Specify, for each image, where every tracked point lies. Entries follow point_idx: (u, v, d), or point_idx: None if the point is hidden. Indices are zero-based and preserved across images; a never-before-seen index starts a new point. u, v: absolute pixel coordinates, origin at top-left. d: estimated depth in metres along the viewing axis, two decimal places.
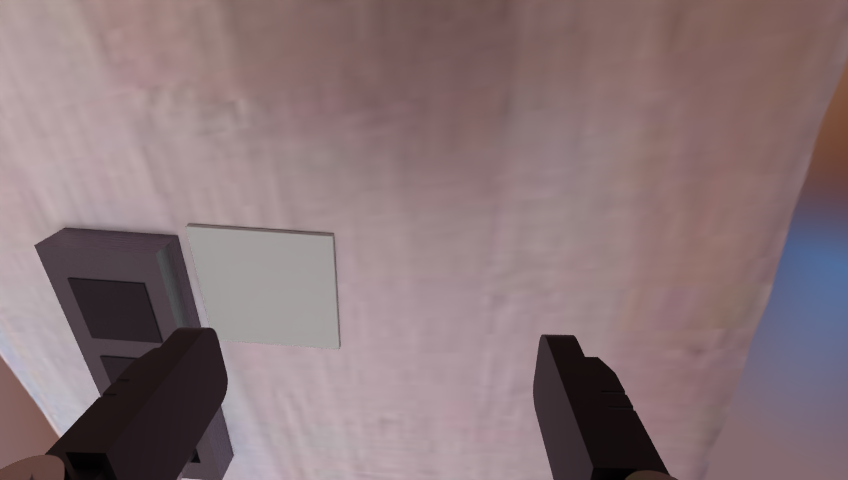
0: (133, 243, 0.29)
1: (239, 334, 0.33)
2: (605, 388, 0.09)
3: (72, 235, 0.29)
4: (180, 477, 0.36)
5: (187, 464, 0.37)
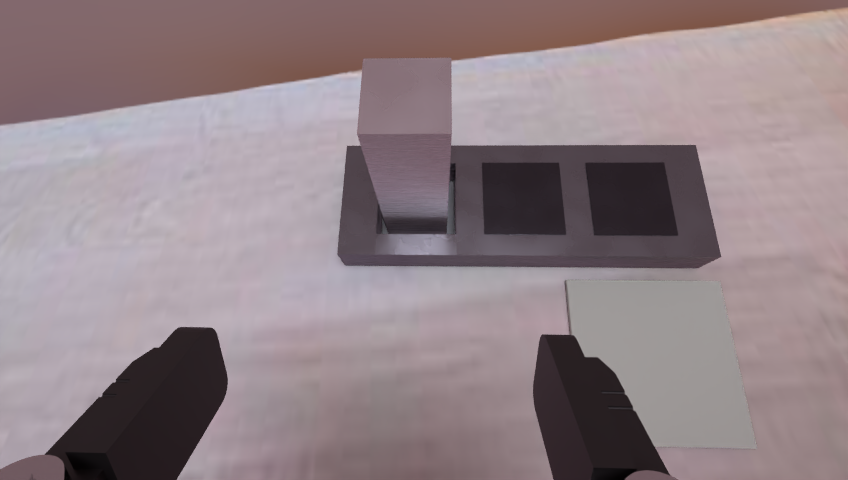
0: None
1: (582, 313, 0.28)
2: (605, 388, 0.09)
3: None
4: (386, 214, 0.26)
5: (389, 221, 0.27)
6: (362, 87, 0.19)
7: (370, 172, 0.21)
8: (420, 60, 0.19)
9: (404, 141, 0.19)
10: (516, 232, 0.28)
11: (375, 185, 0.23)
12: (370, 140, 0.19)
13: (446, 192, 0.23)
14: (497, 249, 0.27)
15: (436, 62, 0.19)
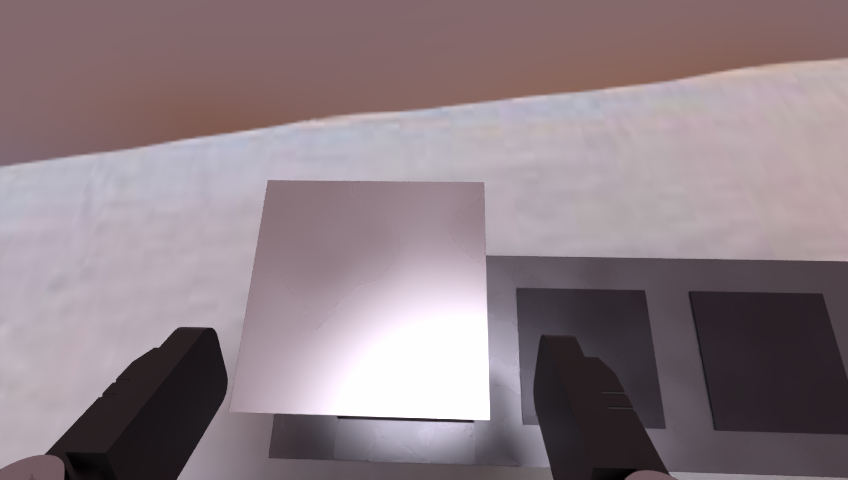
0: None
1: None
2: (605, 388, 0.09)
3: None
4: None
5: None
6: (257, 261, 0.07)
7: None
8: (408, 188, 0.08)
9: None
10: None
11: None
12: None
13: None
14: (546, 455, 0.16)
15: (447, 195, 0.08)
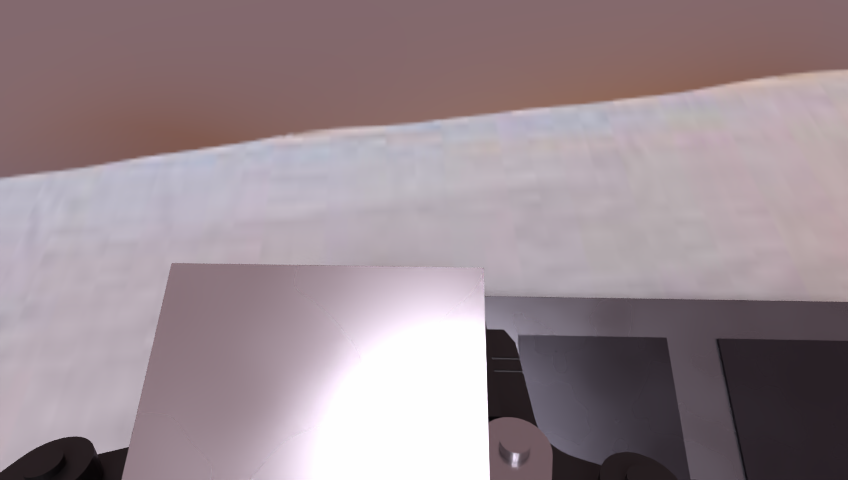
0: None
1: None
2: (502, 355, 0.10)
3: None
4: None
5: None
6: (146, 392, 0.05)
7: None
8: (373, 277, 0.05)
9: None
10: None
11: None
12: None
13: None
14: None
15: (429, 288, 0.05)
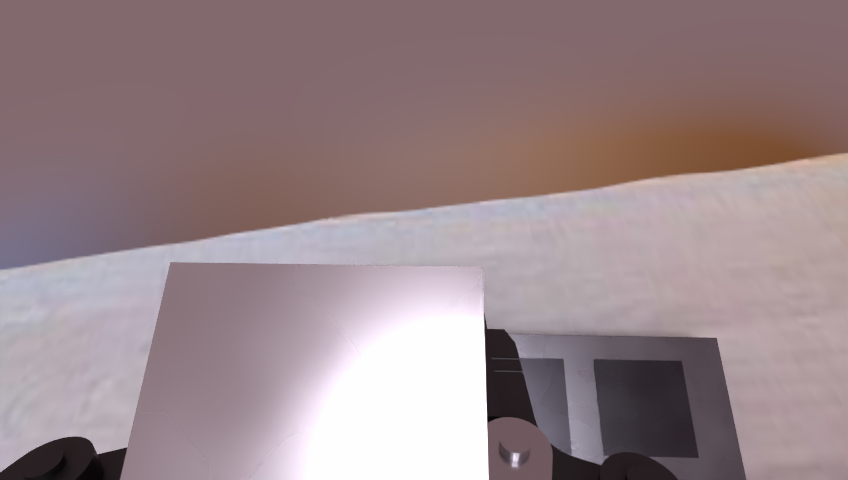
0: None
1: None
2: (502, 355, 0.10)
3: None
4: None
5: None
6: (144, 391, 0.05)
7: None
8: (373, 276, 0.05)
9: None
10: None
11: None
12: None
13: None
14: None
15: (428, 286, 0.05)
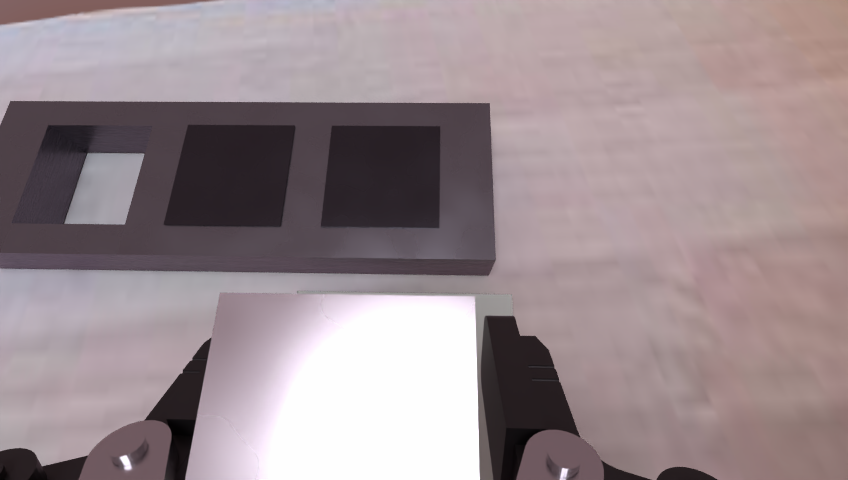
0: None
1: None
2: (536, 363, 0.10)
3: None
4: None
5: None
6: (203, 400, 0.06)
7: None
8: (386, 304, 0.07)
9: None
10: (211, 222, 0.19)
11: None
12: None
13: None
14: (177, 246, 0.19)
15: (431, 312, 0.07)
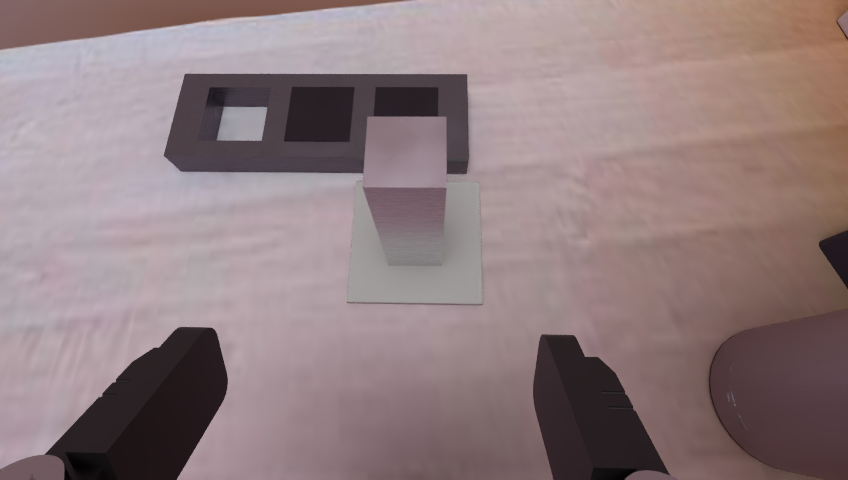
0: None
1: (364, 206, 0.34)
2: (605, 388, 0.09)
3: None
4: (385, 246, 0.28)
5: (388, 252, 0.30)
6: (366, 143, 0.21)
7: (373, 215, 0.24)
8: (419, 119, 0.22)
9: (404, 192, 0.21)
10: (310, 139, 0.34)
11: (377, 225, 0.25)
12: (374, 192, 0.21)
13: (441, 230, 0.26)
14: (292, 152, 0.34)
15: (433, 121, 0.22)
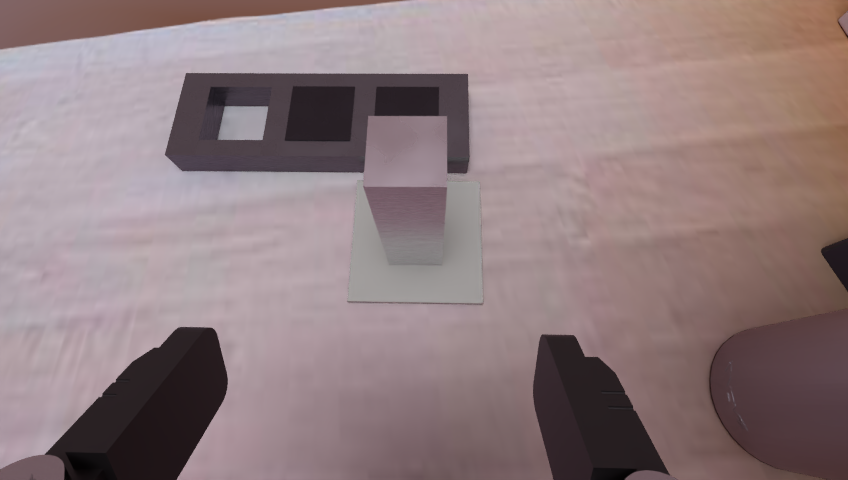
0: None
1: (364, 205, 0.34)
2: (605, 388, 0.09)
3: None
4: (386, 245, 0.29)
5: (389, 251, 0.30)
6: (367, 142, 0.21)
7: (373, 214, 0.24)
8: (420, 118, 0.22)
9: (405, 192, 0.21)
10: (311, 139, 0.34)
11: (377, 224, 0.25)
12: (374, 191, 0.21)
13: (442, 230, 0.26)
14: (293, 151, 0.34)
15: (433, 120, 0.22)
